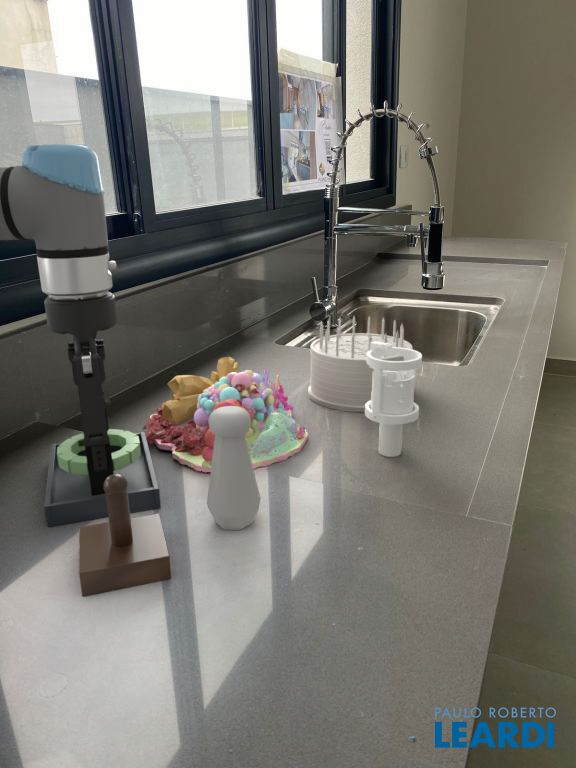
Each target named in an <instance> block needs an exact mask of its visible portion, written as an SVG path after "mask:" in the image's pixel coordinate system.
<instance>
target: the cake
mask: <svg viewBox="0 0 576 768" xmlns="http://www.w3.org/2000/svg"><path fill="white" fill-rule="evenodd" d="M385 321H386V320H385V317H384V316H382V320H381V334H380V333H371V317H370V315H368V318H367V332H366V333H363V332H356V317H355V315H353V317H352V332H351V333H342V319H341V316H339V319H338V326H337V327H336V334H332V335H331V321H330V319H329V318H328V319H327V322H326V323H327V324H326V325H327V328H326V329H325V331H324V324H323V321H321V323H320V327H319V338H317V339H315V340H313V341H312V342H311V343H310V350H309V351H310V369H309V370H310V372H309V373H310V377H309V378H310V384H309V385H308V387H307V396H308V398H309V399H310V400H311V401H312V402H314V403H315V404H317V405H319V406H322V407H325V408H329V409H332V410H336V411H343V412H349V413H350V412H352V413H365V404H366V403H367V402H368V401H370V400H371V392H372V374H373V372H374V369H372V368H369V367H370V366H369V365H368V364H367V363H366V358H367V352H368V351H370V342H373V341H379V342H383V343H390V344H392V347H400V348H408V349H412V350H414V348H413V347H414V346H413V345H412V344H411V343H410V342H409V341H407V340H405V328H404V325H403V324H404V323H403V322H401V325H400V329H399V330H397V322H396V321H397V320H396V319H394V320H393V329H392V335H388V334H387V332H386V333H385V323H386V322H385ZM381 360H386V361H404V357H401V356H399V355H398V354H397V355H396V356H381Z"/></svg>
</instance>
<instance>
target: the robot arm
mask: <svg viewBox="0 0 576 768" xmlns="http://www.w3.org/2000/svg"><path fill="white" fill-rule="evenodd" d="M21 153H22V154H21V155H22V160H21V165H16V166H9V167H7V166H2V167H1V166H0V241H17V240H19V241H29V240H34V243H35V249H36V255H37V256H36V260H37V268H38V274H39V281H40V286H41V291H42V292H43V294H45V295H47V297H46V298H45V300H44V301H43V304H44V310H45V317H46V324H47V328H48V329H49V331H50V332H53V333H55V334H59V335H66V334H68V335H72V336H73V341H70V342H67V355H68V360H69V363H70V365H71V370H72V371H71V372H72V381H73V383H74V385H75V386H77V391H78V401H79V408H80V415H81V422H82V423H81V425H82V431H83V432H82V433H84V439H83V440H81V441H78V445H79V447H81V446H85V450H86V458H87V465H88V472H89V480H90V487H91V494H92V496H95V495H101V494H105V491H104V482H105V480H106V478H107V477H109V476H110V475H112V474H114V471H113V463H112V455H111V453H112V452H111V445H110V438H109V435H108V433H107V431H108V430H109V429H110V427H109V420H108V419H109V418H108V412H107V411H108V410H107V407H111V398H110V397H104V395H105V391H104V389H103V384H104V383H105V382H106V380H107V379H106V378H107V377H106V371H105V370H106V369H105V360H106V352H105V343H104V339H97V335H98V332H99V331H100V332H101V331H102V332H103V331H104V332H105V331H107V330H110V329H112V328H114V327H115V326H116V324H117V323H118V316H117V315H118V314H117V306H116V297H115V295H114V294H113V293H112V292H111V291H109V290H111V289H112V288H113V286H114V285H113V276H112V273H111V271H114V270H116V269H117V268H118V265H117V262H116V261H115V260H110V257H111V256H110V247H109V239H108V227H107V217H106V205H105V189H104V187H103V183H102V176H101V171H100V165H99V158H98V155H97V154H96V152H95V151H94V150H93V149H92V148H91V147H89V146H86V145H82V144H38V145H36V144H32V145H28V146H25V147H24V148H23V149H22V151H21Z"/></svg>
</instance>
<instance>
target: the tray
mask: <svg viewBox="0 0 576 768" xmlns="http://www.w3.org/2000/svg"><path fill="white" fill-rule="evenodd" d="M133 433H134V434H136V435H137V436H139V441H140V448H141V455H140V457H139V458H138V459H137V460H136V461H135V462H134V463H130V465H129V466H126V467H124V468H121V469H119V470H116V471H114V474H120V475H122V476H124V477H125V478H126V480H127V482H128V488H127V491H128V500H129V508H130V514H132V513H138V512H145V511H150V510H156V509H161V507H162V506H161V505H162V504H161V495H160V487H159V483H158V479H157V475H156V471H155V467H154V463H153V459H152V456H151V452H150V447H149V442H148V441H147V439H146V435H145V433H146V432H145V431H140V432H133ZM62 443H63V442H57V443H51V445H50V453H49V460H48V461H49V462H48V471H47V478H46V488H45V496H44V505H43V508H44V516H45V520H46V526H47V527H48V528H50V527H55V526H63V525H68V524H73V523H79V522H86V521H92V520H98V519H103V518H108V510H107V502H106V494H101V495H95V496H92V494H91V487H90V480H89V475H81V474H72V473H71V472H70V473H68V472H66V471H65V470H63V469H61V468H60V467H59V465H58V459H57V447H59V445H60V444H62ZM121 449H122V447H120V446H113V445H111V452H112V453H113V452H116V451H119V450H121ZM76 455H78V456H86V450H83V451H80V452H79V453H78V454H76Z"/></svg>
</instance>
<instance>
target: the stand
mask: <svg viewBox="0 0 576 768" xmlns="http://www.w3.org/2000/svg"><path fill="white" fill-rule="evenodd" d="M127 488H128V482H127V480H126V478H125V477H124V476H122V475H120V474H112V475H110V476H109V477H107V478H106V480H105V482H104V491H105V494H106V502H107V510H108V517H107V519H108V522H101V523H95V524H90V525H85V526H79V527H78V533H79V534H78V576H79V584H80V590H81V597H86V596H92V595H98V594H100V593H107V592H111V591H117V590H121V589H127V588H130V587H131V588H132V587H137V586H142V585H145V584H150V583H151V584H152V583H156V582H160V581H165V580H170V579H172V570H171V559H170V553H169V549H168V548H169V547H168V544H167V540H166V537H165V532H164V528H163V524H162V523H163V522H162V520H161V515H160V513H154V514H148V515H142V516H136V517H131V513H130V508H129V500H128V491H127Z"/></svg>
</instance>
